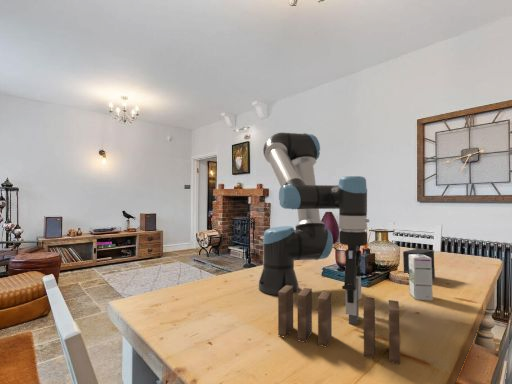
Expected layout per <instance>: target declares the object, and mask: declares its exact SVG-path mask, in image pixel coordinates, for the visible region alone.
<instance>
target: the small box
mask: <svg viewBox="0 0 512 384" xmlns="http://www.w3.org/2000/svg"><path fill="white" fill-rule="evenodd" d="M409 254H421V255H426V256H428V257H430V258H431V262H432V279H434V278H435V277H436V274H435V272H436V270H435V250H433V249H427V248H426V249H425V248H424V249H423V248H415V249H408V250H405V251H402V256H403V257H402V258H403V259H402V260H403V274H404V273H408V274H409Z"/></svg>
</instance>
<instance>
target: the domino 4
mask: <svg viewBox="0 0 512 384" xmlns="http://www.w3.org/2000/svg"><path fill="white" fill-rule="evenodd" d="M349 285H352V284H349ZM356 295H357V316H355V315H349V314H348V324H349V325H355V326H357V324H358V321H359V316H360V315H359V312H360V311H359V306H360V305H359V303H360V302H359V299H358V278H356Z"/></svg>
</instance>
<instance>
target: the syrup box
mask: <svg viewBox="0 0 512 384" xmlns="http://www.w3.org/2000/svg"><path fill="white" fill-rule="evenodd" d="M408 282H409V283H408V285H409V286H408V287H409V289H408V290H409V295H410V296H411V298H413V299H414V300H416V301H417V300H418V301H431V302H433V300H434V297H433V295H434V294H433V278H432V262H431V258H430V257H428V256H426V255H421V254H409V280H408Z"/></svg>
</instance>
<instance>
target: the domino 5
mask: <svg viewBox="0 0 512 384" xmlns="http://www.w3.org/2000/svg"><path fill="white" fill-rule="evenodd" d="M375 302H376V298H375V297H371V296H365V298H364V302H363V357H366V356H367V358H370V357H372V358H371V359H375V349H376V311H375V309H376V307H375V305H376V303H375Z"/></svg>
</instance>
